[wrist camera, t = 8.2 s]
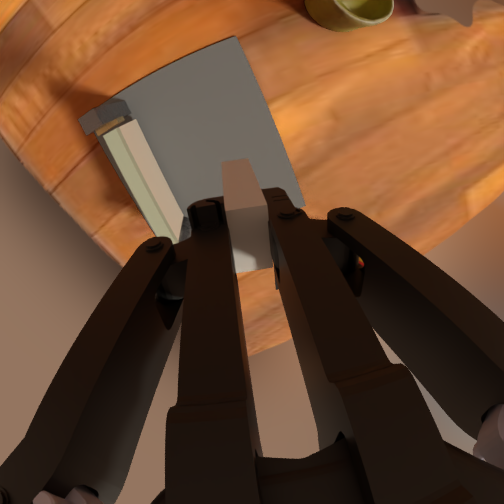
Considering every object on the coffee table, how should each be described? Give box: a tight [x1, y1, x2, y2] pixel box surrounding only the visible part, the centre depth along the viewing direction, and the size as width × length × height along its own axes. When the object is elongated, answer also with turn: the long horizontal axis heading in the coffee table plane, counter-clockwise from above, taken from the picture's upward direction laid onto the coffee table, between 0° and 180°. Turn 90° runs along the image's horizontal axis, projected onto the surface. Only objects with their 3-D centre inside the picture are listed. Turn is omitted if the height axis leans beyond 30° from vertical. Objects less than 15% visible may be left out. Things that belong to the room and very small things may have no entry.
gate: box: [103, 119, 184, 244], centre depth 32 cm, size 15×2×9 cm, turn 20°
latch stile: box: [78, 101, 131, 136], centre depth 27 cm, size 3×3×11 cm
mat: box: [94, 36, 306, 237], centre depth 36 cm, size 26×22×1 cm
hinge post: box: [178, 217, 191, 242], centre depth 37 cm, size 3×3×12 cm
